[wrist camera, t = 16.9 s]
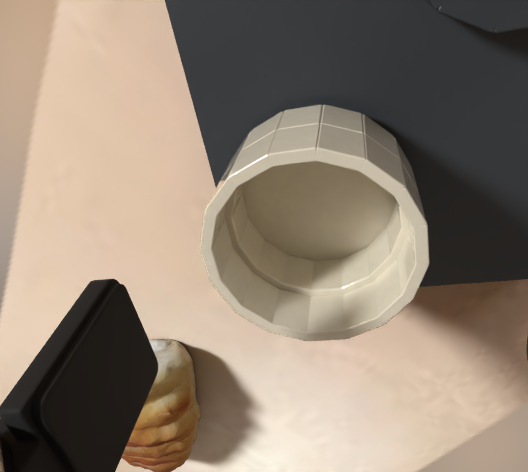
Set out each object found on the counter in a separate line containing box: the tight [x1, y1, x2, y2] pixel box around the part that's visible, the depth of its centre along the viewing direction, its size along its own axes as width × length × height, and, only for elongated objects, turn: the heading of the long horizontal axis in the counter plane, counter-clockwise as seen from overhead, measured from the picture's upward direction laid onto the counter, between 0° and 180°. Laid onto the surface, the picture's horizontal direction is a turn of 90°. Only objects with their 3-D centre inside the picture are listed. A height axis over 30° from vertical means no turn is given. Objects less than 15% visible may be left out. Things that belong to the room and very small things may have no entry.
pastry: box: [121, 339, 201, 472], centre depth 28 cm, size 9×7×4 cm
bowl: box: [200, 105, 429, 341], centre depth 17 cm, size 7×7×4 cm
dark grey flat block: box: [165, 0, 528, 287], centre depth 17 cm, size 16×14×4 cm
